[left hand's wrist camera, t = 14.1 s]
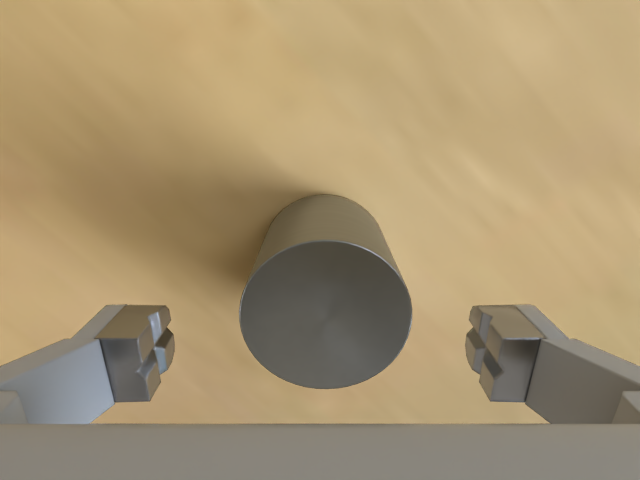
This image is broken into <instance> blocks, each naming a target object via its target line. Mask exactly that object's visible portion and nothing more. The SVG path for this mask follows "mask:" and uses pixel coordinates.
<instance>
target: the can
mask: <svg viewBox="0 0 640 480" xmlns="http://www.w3.org/2000/svg"><path fill="white" fill-rule="evenodd" d="M239 321H240V327H241V331H242V334H243V337H244V340H245V342H246V344H247V346H248V348H249V350H250V351H251V353H252V354H253V355H254V357H255V358H256V359H257V360H258V361H259V362H260V363H261V365H263V366H264V367H265V368H266V369H267V370H269V371H270V372H271V373H273V374H274V375H276V376H278V377H279V378H281V379H283V380H285V381H288V382H290V383H293V384H296V385H300V386H303V387H308V388H315V389H335V388H342V387H348V386H351V385H355V384H358V383H361V382H363V381H366V380H368V379H370V378H371V377H373V376H375V375H377V374H378V373H380V372H381V371H382V370H384V369H385V368H386V367H387V366H388V365H389V364H391V363H392V362H393V360H394V359H395V358H396V357H397V356H398V354H399V353H400V351H401V350H402V348H403V347H404V345H405V342H406V340H407V338H408V335H409V332H410V329H411V323H412V305H411V298H410V295H409V292H408V289H407V287H406V285H405V282H404V280H403V278H402V276H401V273H400V271H399V269H398V267H397V265H396V262H395V260H394V258H393V256H392V254H391V251H390V249H389V247H388V245H387V242H386V240H385V238H384V236H383V234H382V231H381V229H380V227H379V225H378V223H377V222H376V220H375V219H374V218H373V216H372V215H371V214H370V213H369V212H368V211H367V210H366V209H364V208H363V207H362V206H360V205H359V204H357V203H356V202H354V201H351V200H349V199H347V198H344V197H340V196H335V195H314V196H309V197H305V198H303V199H300V200H298V201H296V202H294V203H292V204H290V205H289V206H287V207H286V208H285V209H283V210H282V211H281V212H280V213H279V214H278V215H277V217H276V218H275V219H274V220H273V222H272V224H271V225H270V227H269V229H268V232H267V234H266V236H265V239H264V241H263V244H262V246H261V249H260V251H259V254H258V256H257V258H256V261H255V263H254V266H253V268H252V271H251V273H250V276H249V278H248V281H247V283H246V286H245V288H244V290H243V293H242V297H241V301H240V308H239Z"/></svg>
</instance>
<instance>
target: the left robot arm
mask: <svg viewBox="0 0 640 480" xmlns="http://www.w3.org/2000/svg"><path fill="white" fill-rule="evenodd" d="M170 321H171V317H170V312H169V309H168V308H167V306H166V305H127V304H119V305H106V306H105V307H104V308H103V309H102V310H101V311H100V312H98V313H97V314H96V315H95V316H94V317H93V318H92V319H91V320H90V321H89V322H88V323H87V324H86V325H85V326H84V327H83V328H82V329H81V330H80V331H79V332H77V333H76V334H75V335H74V336H73V337H72V338H71V339H63V340H61V341H58V342H56V343H54V344H51V345H49V346H47V347H44V348H42V349H40V350H37V351H35V352H33V353H30V354H28V355H26V356H23V357H21V358H19V359H16V360H14V361H11V362H9V363H7V364H4V365H2V366H0V480H640V366H638V365H635V364H633V363H631V362H628V361H626V360H624V359H621V358H619V357H617V356H614V355H612V354H610V353H607V352H605V351H603V350H600V349H598V348H596V347H593V346H591V345H589V344H586V343H584V342H582V341H579V340H577V339H569V338H568V337H567V336H566V335H565V334H564V333H563V332H562V331H560V330H559V329H558V328H557V327H556V326H555V325H554V324H553V323H552V322H551V321H550V320H549V319H548V318H547V317H546V316H545V315H544V314H543V313H542V312H541V311H540V310H538V309H537V308H536V307H535V306H533V305H531V304H523V305H484V306H473V307H472V309H471V311H470V316H469V321H470V322H471V324H472V325H473V328H472V329H471V330H470V331H469V332H468V333H467V335H466V343H465V348H466V356H467V360H468V363H469V365H470V367H471V368H472V370H474V371H475V372H477V373H478V374H480V379H479V383H480V384H481V386H482V388H483V390H484V391H485V393H486V395H487V397H488V398H489V400H490V401H495V402H526V403H525V404H526V405H527V406H529V407H530V408H531V409H533V410H534V411H535V412H536V413H538V414H539V415H540V416H542V417H543V418H544V419H546V420H547V421H548V422H549V423H551V424H89V423H91V422H92V421H93V420H95V419H96V418H97V417H98V416H100V415H101V414H102V413H104V412H105V411H106V410H108V409H109V408H110V407H112V406H113V405H114V404H115V403H114V402H144V401H150V400H151V398H152V397H153V395H154V393H155V391H156V390H157V388H158V386H159V384H160V383H161V379H160V374H162V373H163V372H165V371H166V370H168V368H169V366H170V365H171V363H172V360H173V355H174V351H175V341H174V335H173V333H172V332H171V331H170V330H169V329H168V328H167V325H168V324H169V322H170Z"/></svg>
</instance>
